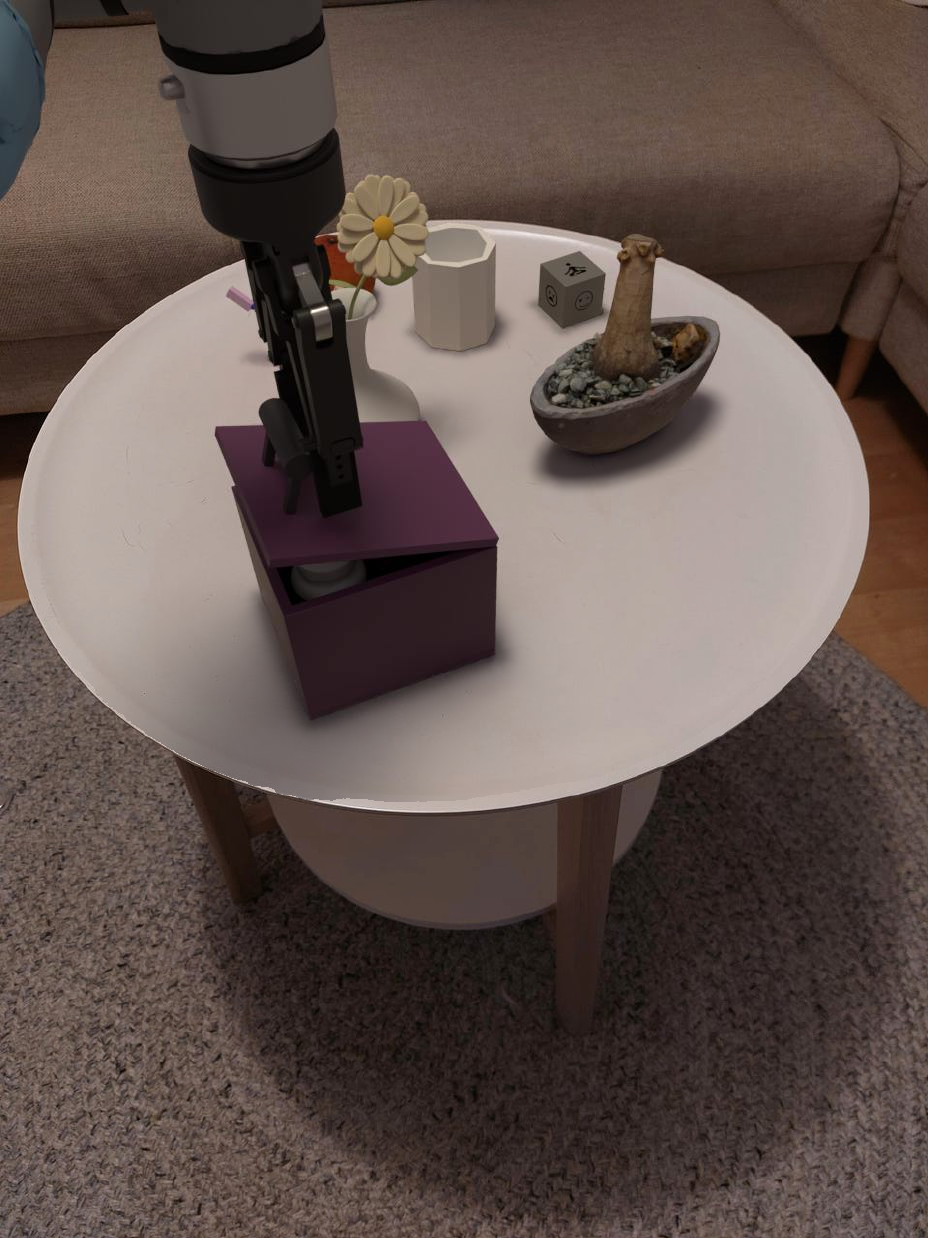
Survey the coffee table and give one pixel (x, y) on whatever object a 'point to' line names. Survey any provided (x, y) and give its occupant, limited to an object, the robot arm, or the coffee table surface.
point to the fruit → (342, 264)
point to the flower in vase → (385, 249)
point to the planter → (625, 366)
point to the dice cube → (571, 289)
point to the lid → (389, 485)
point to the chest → (381, 622)
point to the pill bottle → (326, 578)
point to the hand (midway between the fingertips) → (325, 475)
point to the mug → (455, 287)
